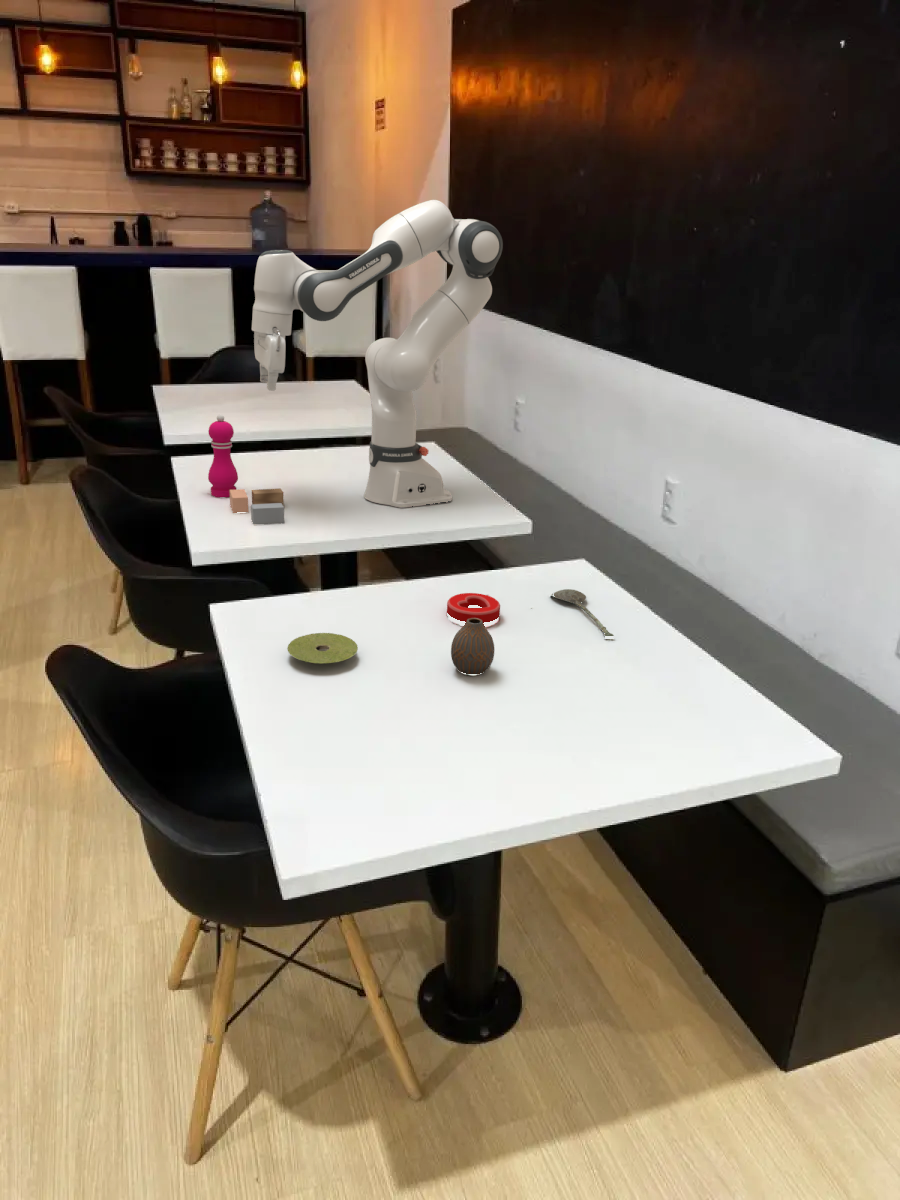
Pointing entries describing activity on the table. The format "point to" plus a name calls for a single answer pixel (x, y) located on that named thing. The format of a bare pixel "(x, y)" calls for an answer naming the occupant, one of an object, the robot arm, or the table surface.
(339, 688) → the table surface
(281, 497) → the walnut brick
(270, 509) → the slate-grey brick
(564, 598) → the soupspoon
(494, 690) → the table surface
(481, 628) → the vase
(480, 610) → the decorative ornament
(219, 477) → the pepper mill
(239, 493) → the terracotta brick
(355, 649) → the mat
